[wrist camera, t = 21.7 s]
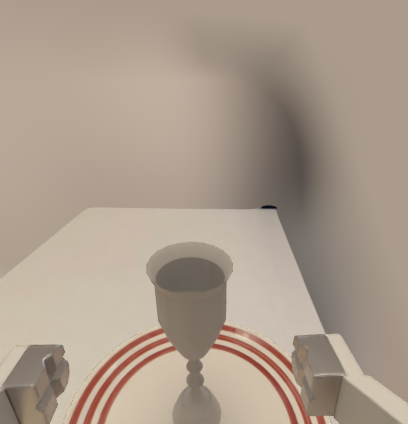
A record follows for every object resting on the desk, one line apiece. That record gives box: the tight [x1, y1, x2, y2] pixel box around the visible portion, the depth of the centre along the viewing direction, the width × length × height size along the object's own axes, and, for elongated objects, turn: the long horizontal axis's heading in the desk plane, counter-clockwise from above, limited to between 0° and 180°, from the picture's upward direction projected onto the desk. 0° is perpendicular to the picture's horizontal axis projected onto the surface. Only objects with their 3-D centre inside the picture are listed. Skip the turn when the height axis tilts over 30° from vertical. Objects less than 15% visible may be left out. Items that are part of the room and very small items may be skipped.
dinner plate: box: [63, 321, 332, 424], centre depth 31 cm, size 27×27×3 cm
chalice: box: [146, 242, 233, 424], centre depth 26 cm, size 7×7×18 cm
